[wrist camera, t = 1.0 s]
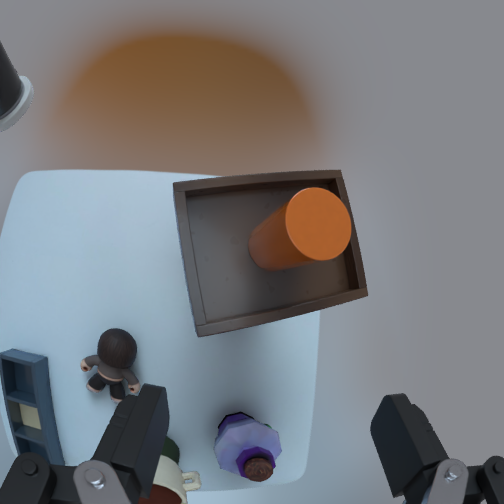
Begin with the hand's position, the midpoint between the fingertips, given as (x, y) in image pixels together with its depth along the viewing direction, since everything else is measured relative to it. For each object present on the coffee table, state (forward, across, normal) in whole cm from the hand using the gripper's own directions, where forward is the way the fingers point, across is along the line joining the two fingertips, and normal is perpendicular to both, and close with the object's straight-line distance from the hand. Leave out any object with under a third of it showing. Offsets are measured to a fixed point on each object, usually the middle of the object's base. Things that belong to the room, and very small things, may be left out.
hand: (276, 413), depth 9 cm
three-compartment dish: (+13, +30, +25) cm, 42 cm away
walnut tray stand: (+29, +3, +5) cm, 30 cm away
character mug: (+16, +12, +29) cm, 35 cm away
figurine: (+20, +18, +17) cm, 32 cm away
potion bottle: (+20, +1, +26) cm, 33 cm away
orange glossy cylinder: (+15, 0, -2) cm, 15 cm away
